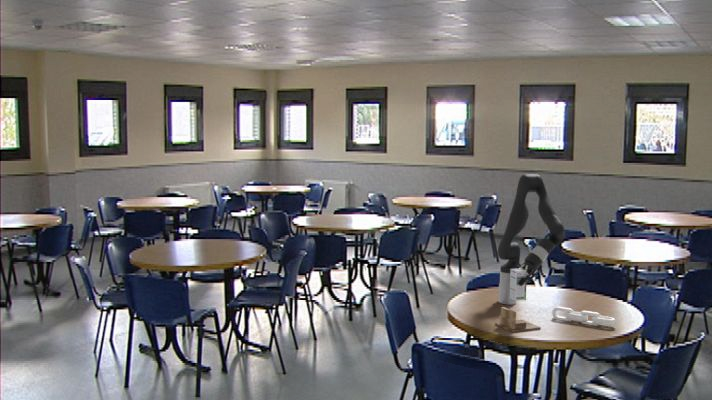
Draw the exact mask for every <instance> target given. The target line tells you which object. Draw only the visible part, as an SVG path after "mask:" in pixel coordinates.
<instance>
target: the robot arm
mask: <svg viewBox="0 0 712 400" xmlns="http://www.w3.org/2000/svg"><path fill="white" fill-rule="evenodd" d="M528 193H535V194H536V195H537V196H538V206H537V207H538V209H537V210H538V213H539V216H540V218H541V220H542V221H543V223H544V224H545V225H546V227H547V229H548V231H549V234H548V236H547V237H544V238H541V240H539V242H538V243H537V244H536V246H535V247H533V249H532V250H531V251H530V252H529V253H528V254H527V256H526V257H525V258H524V263H522V264H521V262H520V261H521V260H520V258H521V248H520V245H519V243H518V242H514V241H513V240H514V239H515V237H517V236H518V234H520V233H521V232H522V231H523V230H524V229H525V227H526V225H527V222H528V219H529V209H528V207H527V204H526V199H527V196H528ZM548 195H549V194H548V192H547V188H546V185H545V182H544V180H543V178H542V176H541V175H539V174H536V173H535V174H534V173H527V174H525V173H524V174H522V175H521V176H520V178H519V179H518V183H517V188H516V193H515V198H514V201H513V206H512V208H511V211H510V213H509V218H508V221H507V224H506V227H505V230H504V233H503V234H502V235H503V236H502V238H501V241H500V243H499V245H498V247H497V256H498V258H499V259H500V260H504V261H507V262H506V263H504V264H502V265H501V266H500V268H499V270H500V273H499V274H500V275H499V284H498V292H497V293H498V296H497V302H498V303H499V304H502V305H508V306H509V305H510V306H512V305H516V304H517V301H515V300H513V299H511V298H510V271H511V269H525V270H527V271H526V272H525V275H524V278H522V279H521V280H520V281H519V282H518V284H519V285H520V286H522V285H523V284H524V283H525V282H526V281H527V282H528V281H532V280H533V279H534V278H535V277H536V276H537V274H539V270H538V269H539V268H540V266H541V265H542V264H543V263H544V262H545V260H546V259H547V258H548V256H549V255H550V253H551V252H552V251H553V250H554V249H555V248H556V247H558V246H559V245H560V244H561V243H562V242H563V240H564V239H565V238H566V230H565V227H564V224H563V223H562V221H561V220H560V219H559V217H558V216H557V213H556V211H555V209H554V207H553V206H552V204H551V201H550V198H549V196H548Z"/></svg>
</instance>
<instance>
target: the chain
mask: <svg viewBox="0 0 712 400" xmlns="http://www.w3.org/2000/svg"><path fill="white" fill-rule="evenodd" d="M558 311H560V312H564V313H565V314H564V316H561V315H558V313H557V312H558ZM551 314H552V315H551V316H552V317H553V319H554V320H557V321H565V322H572V321H577V322H580V324H583V325H588V326H589V325H590V326H594V327H598V326H599V325H603V326H615V325H616V318H614V317H611V316H606V315H601V313H599V312H597V311H591V310H582V311H575V310H573V309H572V308H570V307H564V306H555V307H553V309H552V312H551ZM589 316H592V317H591V320H589Z"/></svg>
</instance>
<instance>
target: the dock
mask: <svg viewBox="0 0 712 400" xmlns="http://www.w3.org/2000/svg"><path fill="white" fill-rule="evenodd" d="M494 324H495V326H498V327H500V328H502V329H504V330H506V331H508V332H510V333H513V334H514V333H522V332H523V333H524V332H530V331H538V330H541V326H538V325H536V324H533V323H531V322H529V321H527V320H525V319H517V312H516V311H515V310H512V309H509V308H507V307H505V306H501V307H500V319H499V322H495V323H494Z"/></svg>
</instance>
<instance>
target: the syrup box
mask: <svg viewBox="0 0 712 400" xmlns="http://www.w3.org/2000/svg"><path fill="white" fill-rule="evenodd" d="M526 271H527V270H525V269H511V271H510V298H511V299H513V300H515V301H516V302H517V301H527V284H528V283H527V282H528V281H526V282H525V283H524V284H523V285H522V286H520V285H519V284H518V282H519V281H520V280H521V279H522V278H524V275H525V272H526Z"/></svg>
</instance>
